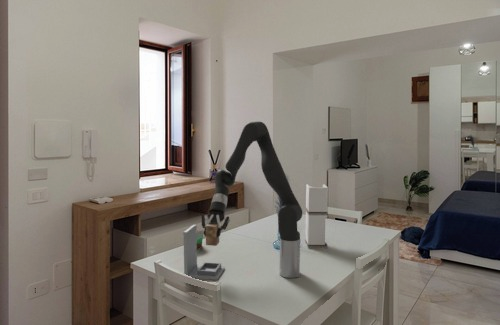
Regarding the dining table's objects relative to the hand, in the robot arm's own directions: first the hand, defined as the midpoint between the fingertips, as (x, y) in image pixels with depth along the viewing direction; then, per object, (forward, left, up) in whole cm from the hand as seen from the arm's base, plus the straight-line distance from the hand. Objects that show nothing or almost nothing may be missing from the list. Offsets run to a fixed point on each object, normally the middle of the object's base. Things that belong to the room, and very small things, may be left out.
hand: (211, 236), depth 162 cm
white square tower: (-47, -52, -19) cm, 73 cm away
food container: (+21, -33, -19) cm, 43 cm away
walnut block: (0, -2, -4) cm, 5 cm away
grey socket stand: (+4, -1, -18) cm, 19 cm away
